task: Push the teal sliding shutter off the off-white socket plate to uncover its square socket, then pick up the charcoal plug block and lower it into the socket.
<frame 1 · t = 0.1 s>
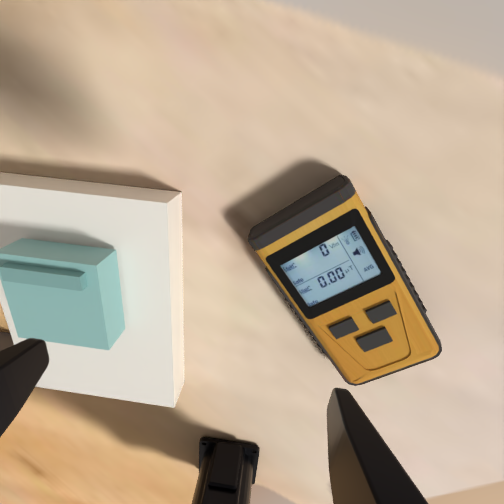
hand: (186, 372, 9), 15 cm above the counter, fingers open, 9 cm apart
electronic device: (344, 280, 25), on the counter
shutter: (63, 297, 21), point 5 cm above the counter, slide at 0.0 cm
socket plate: (104, 290, 27), on the counter
plug: (10, 348, 31), on the counter
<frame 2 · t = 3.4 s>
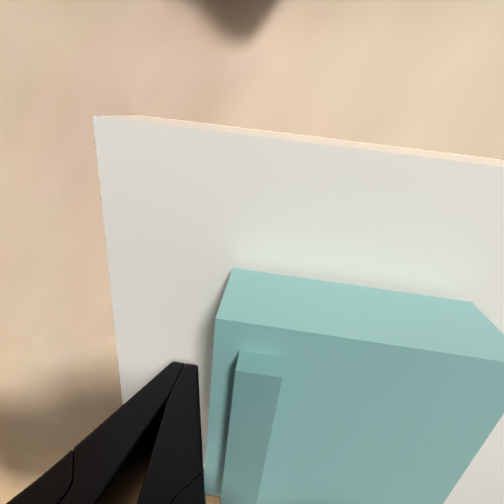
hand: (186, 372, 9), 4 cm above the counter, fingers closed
shutter: (331, 412, 9), point 5 cm above the counter, slide at 0.4 cm, touching gripper
socket plate: (366, 320, 13), on the counter
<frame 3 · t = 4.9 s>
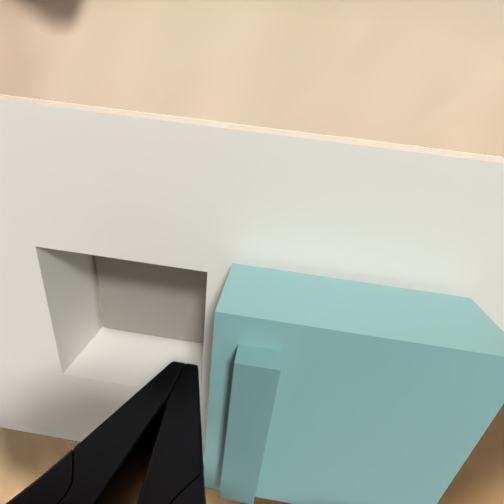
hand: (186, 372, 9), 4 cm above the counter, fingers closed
shutter: (330, 406, 9), point 5 cm above the counter, slide at 7.0 cm, touching gripper
socket plate: (213, 294, 13), on the counter
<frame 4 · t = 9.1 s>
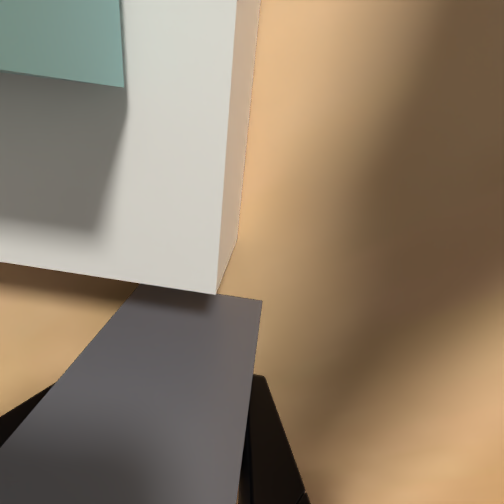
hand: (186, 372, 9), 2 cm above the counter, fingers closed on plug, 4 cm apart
plug: (199, 339, 11), on the counter, touching gripper
when the fingers open (3 cm above the counter, at t = 13.6 s): plug drops 2 cm, resting on socket plate.
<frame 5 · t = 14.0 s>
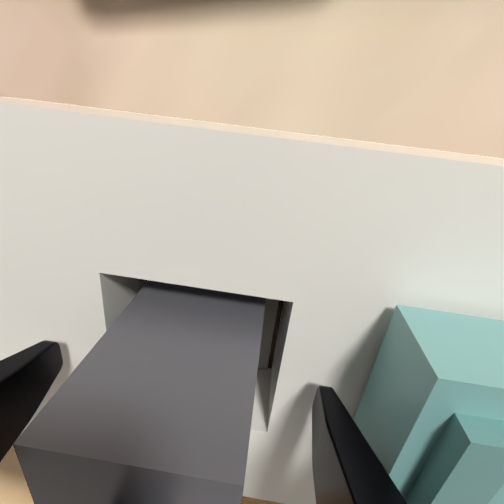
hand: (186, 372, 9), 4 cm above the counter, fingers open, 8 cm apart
socket plate: (273, 316, 12), on the counter
plug: (212, 313, 12), resting on socket plate
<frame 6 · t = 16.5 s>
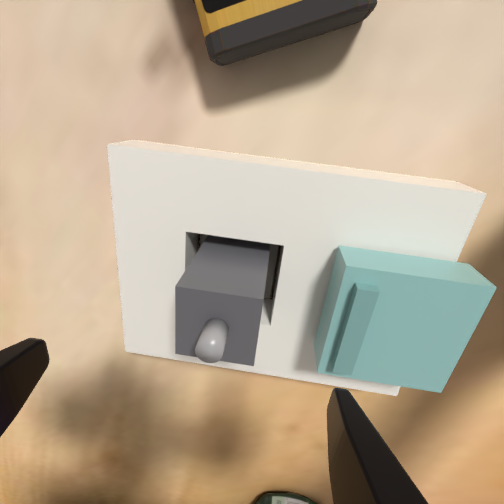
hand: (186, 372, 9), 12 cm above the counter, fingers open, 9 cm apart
shutter: (392, 323, 16), point 5 cm above the counter, slide at 9.0 cm
socket plate: (273, 264, 21), on the counter
plug: (238, 262, 21), resting on socket plate
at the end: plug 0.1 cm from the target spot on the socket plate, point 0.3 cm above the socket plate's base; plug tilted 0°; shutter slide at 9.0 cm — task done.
